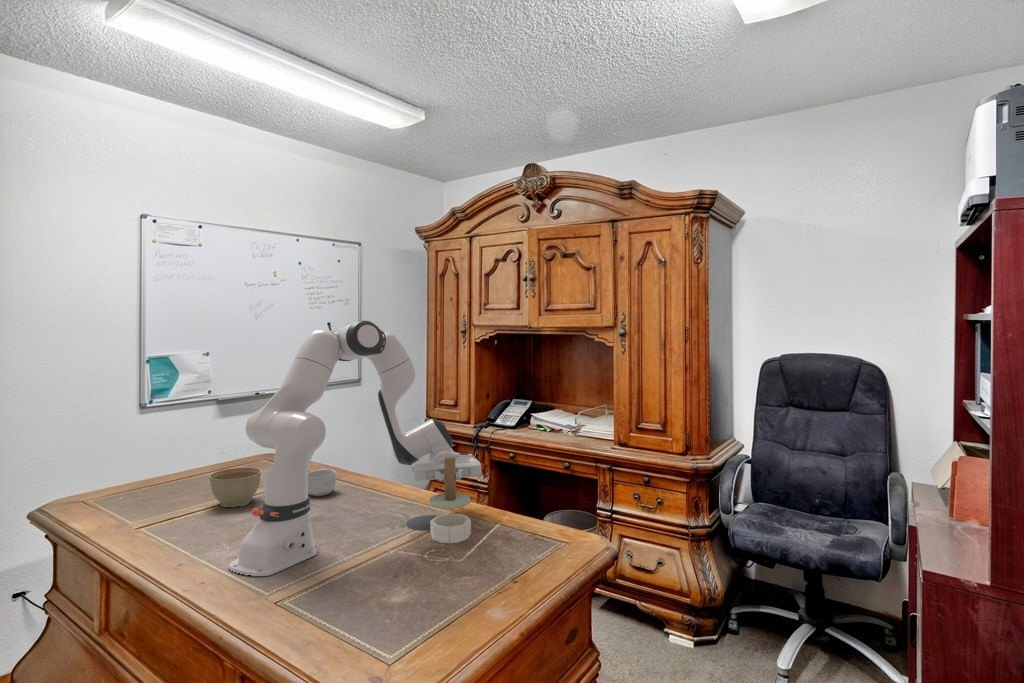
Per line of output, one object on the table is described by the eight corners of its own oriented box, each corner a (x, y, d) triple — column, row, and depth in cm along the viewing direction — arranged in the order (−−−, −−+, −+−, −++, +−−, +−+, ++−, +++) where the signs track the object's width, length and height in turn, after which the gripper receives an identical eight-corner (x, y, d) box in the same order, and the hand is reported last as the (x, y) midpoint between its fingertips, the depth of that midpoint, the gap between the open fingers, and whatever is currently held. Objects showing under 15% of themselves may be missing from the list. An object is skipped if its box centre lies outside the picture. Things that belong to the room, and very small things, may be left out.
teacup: (329, 498, 194) (329, 476, 194) (299, 498, 195) (299, 476, 194) (342, 487, 208) (342, 466, 208) (314, 487, 209) (314, 466, 208)
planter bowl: (240, 513, 180) (240, 480, 180) (198, 510, 183) (198, 478, 183) (271, 497, 196) (270, 468, 195) (232, 495, 199) (231, 466, 199)
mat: (436, 534, 160) (436, 532, 160) (398, 529, 165) (398, 527, 165) (455, 519, 172) (455, 517, 172) (419, 515, 177) (419, 513, 177)
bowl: (459, 547, 151) (459, 529, 151) (424, 542, 155) (424, 524, 155) (475, 532, 161) (475, 516, 161) (442, 528, 165) (442, 512, 165)
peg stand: (460, 510, 150) (459, 465, 150) (421, 506, 154) (421, 461, 154) (477, 497, 161) (477, 455, 161) (441, 493, 165) (440, 452, 165)
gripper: (411, 457, 168) (413, 469, 154) (476, 453, 172) (484, 464, 159) (411, 477, 168) (414, 491, 154) (476, 473, 173) (484, 485, 159)
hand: (450, 477), depth 157 cm, fingers closed on peg stand, 3 cm apart
